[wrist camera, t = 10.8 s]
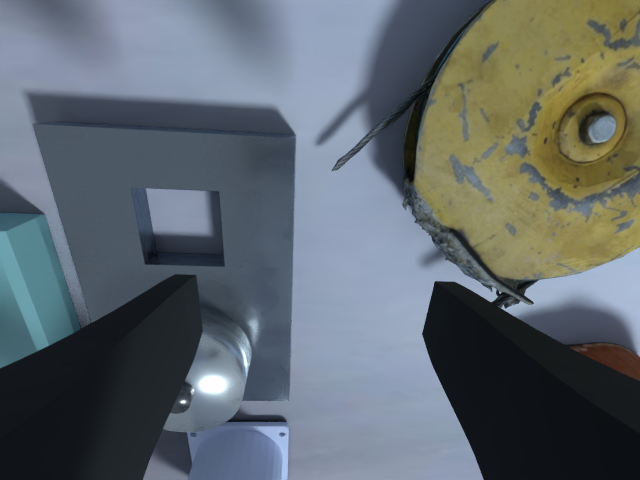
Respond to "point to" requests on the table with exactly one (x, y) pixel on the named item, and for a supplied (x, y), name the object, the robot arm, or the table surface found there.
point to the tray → (31, 289)
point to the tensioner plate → (211, 269)
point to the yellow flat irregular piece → (528, 142)
